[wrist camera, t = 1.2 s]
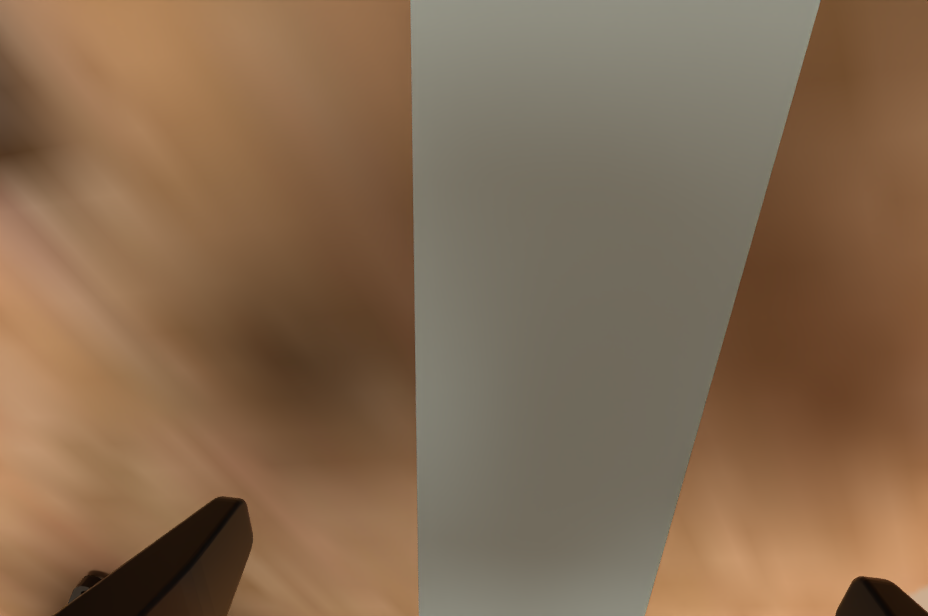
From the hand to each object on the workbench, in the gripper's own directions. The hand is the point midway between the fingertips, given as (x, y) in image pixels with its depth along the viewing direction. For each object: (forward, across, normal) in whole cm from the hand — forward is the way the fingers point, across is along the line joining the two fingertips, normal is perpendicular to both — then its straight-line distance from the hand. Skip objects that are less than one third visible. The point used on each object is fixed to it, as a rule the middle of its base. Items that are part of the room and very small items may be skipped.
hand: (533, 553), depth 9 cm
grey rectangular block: (+6, 0, -2) cm, 6 cm away
